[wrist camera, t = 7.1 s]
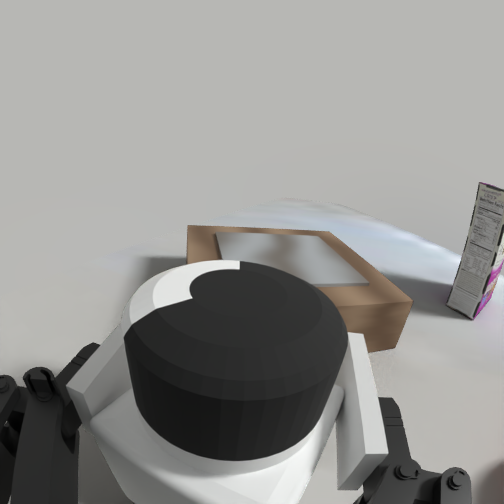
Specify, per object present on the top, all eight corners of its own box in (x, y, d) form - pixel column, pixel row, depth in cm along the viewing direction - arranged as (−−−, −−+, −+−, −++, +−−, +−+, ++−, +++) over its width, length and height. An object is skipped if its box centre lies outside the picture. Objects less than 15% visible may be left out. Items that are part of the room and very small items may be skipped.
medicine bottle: (308, 467, 14) (386, 278, 9) (250, 567, 8) (340, 459, 3) (199, 419, 17) (204, 228, 12) (123, 496, 10) (42, 295, 6)
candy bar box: (465, 286, 39) (493, 185, 34) (490, 299, 36) (521, 195, 30) (442, 305, 33) (478, 179, 27) (473, 321, 30) (514, 191, 24)
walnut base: (322, 266, 41) (329, 229, 39) (394, 348, 25) (414, 297, 23) (186, 264, 37) (187, 222, 35) (189, 366, 21) (189, 305, 19)
